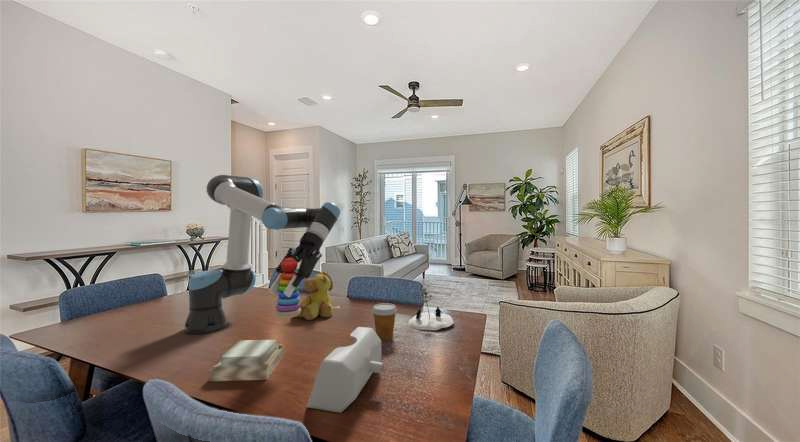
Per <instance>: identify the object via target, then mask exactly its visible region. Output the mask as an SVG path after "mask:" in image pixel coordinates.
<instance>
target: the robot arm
mask: <svg viewBox="0 0 800 442" xmlns="http://www.w3.org/2000/svg"><path fill="white" fill-rule="evenodd" d="M263 191H264V190H263V186H262V185H261V184H260V182H259V181H258V180H257V179H255V178H252V177H248V176H237V175H229V174H219V175H216V176H214V177H212V178H211V179H210V180H209V181H208V183H207V185H206V194H207V196H208V197H209V198H210V199H211V200H212V201H214V202H216V203H218V204H219V205H222V206H227V208H228V209H229V210H230V213H229V229H228V241H227V253H226V254H227V255H226V262H225V263H224V264H223V265H222V268H221V270H220V269H209V270H202V271H199V272H196V273H194V274H192V275H191V276H190V277H189V279H188V301H189V302H188V305H189V306H188V307H189V312H188V315H187V318H186V321H185V324H184V332H185V334H188V335H201V334H208V333H212V332H216V331H218V330H219V331H220V330H221V329H223V328H225V327H227V325H228V318H227V316H226V314H225V311H224V309H223V299H227V298H232V297H234V296H235V297H236V296H239V295H240V296H241V295H243V294H246V293H248V292H250V291H251V290H252V289H253V288H254V287H255V285H256V281H257V277H256V276H257V275H256V274H255V271H254V269H253V268H252V266H251V264H250V263H249V253H250V252H249V251H250V241H251V240H250V239H251V228H252V227H251V225H252V217H253V218H255V219H256V220H259V221H261V222H262V225H264V227H265V228H266V229H269V230H277V231H278V230H285V229H286V230H287V229H288V230H289V229H303V228H306V230H305V232H304V233H303V235H302V236H301V238H300V239H299V244H298V245H297V246H296V248H292V247H290V248H288V250H287V253H286V254H285V256H284V257H283V258H282V260H281V262H280V263H279V264H278V266H277V267H276V269H275V271H276V272H277V275H276V277H275V279H274V280H273V282H272V285H271V286H270V288H268V291H269V292H270V293H271V294H272V295H274V296H276V295H277V293H278V292H279V291H280V290H279V287H280V285H281V284H280V280H281V279H282V278H281V274H282V273H283V272H284V271H283V270H282V268H281V263H282V261H283V260H284V259H286V258H294V259H295V260H296V261H297V264H298V263H299V266H298V267H299V268H298V270H297V272H296V275H297V276H296V275H294V276H293V278H292V279H291V281H290V283H289V284H288V286H287V287H286V289H285V291H284V292H283V293H284V294H285V295H286V296H287V297H290V296H291V295H292V293H293V291H294V290H295V288H296V287H298V286H299V285H300V283H301V281H302V280H304V279H305V280H306V279H308V278H310V276H311V274H312V273H313V271H314V269H315V267H316V265H317V263H318V261H319V260H320V259H321V258H322V256H323V255H322V253H321V251H320V250H321V247H322V246H323V244H324V242H325V241H326V240H327V238H328V236H329V234H330V232H331V231H332V229H333V227H334V226H335V224H336V223H337V221H338V219H339V217H340V215H341V209H340V207H339V206H338V205H337V204H336V203H333V202H329V201H327V202H324V203H323V205H321V207H320V208H319V207H316V208H315V207H314V208H308V207H307V208H305V207H302V208H301V207H298V208H297V207H293V208H291V207H282V206H279V205H277V204H275V203H273V202H271V201H268V200H267V199H264V198H263V197H264V192H263Z"/></svg>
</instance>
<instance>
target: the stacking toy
mask: <svg viewBox="0 0 800 442" xmlns="http://www.w3.org/2000/svg"><path fill="white" fill-rule="evenodd" d="M282 260H283V259H282ZM282 260H281V261H282ZM280 263H281V262H280ZM281 268H282V270H283V271H284V272H283V273H282V274H281V278H282V279H281V280H280V284H281V285H280V287H279V290H278V292H277V293H278V294H277V295H278V298H277V301H276V302H277V303H276V304H275V309H276V310H275V313H274V314H275V316H276V317H278V318H282V319H288V318H290V319H291V318H294V317H296V316H297V315H299V314H300V313H301V308H300V302H301V298H300V296H299V295H300V291H299V285H298V287H296V288H295V290H294V291H293V293H292V295H291V296H290V297H287V296H286V295H285V294H284V293H283V292H284V291H285V289H286V287H287V286H288V284H289V283H290V281H291V279H292V278H293V276H294V275H296V273H297V272H296V270H297V269H298V263H297V261H296V260H295V259H294V258H286V259H284V260H283V261H282V263H281ZM296 276H297V275H296Z"/></svg>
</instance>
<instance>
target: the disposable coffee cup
mask: <svg viewBox="0 0 800 442" xmlns="http://www.w3.org/2000/svg"><path fill="white" fill-rule="evenodd" d="M397 310H398V309H397V308H396V305H395V304H393V303H389V302H388V303H387V302H383V303H376V304H375V305H373V307H372V310H371V311H372V313H373V320H374V330H375V332H376V334H377V335H378V337H379V338H380V340H381V341H389V340H392V339H393V337H394V336H393V335H394V330H395V329H394V328H395V320H396V312H397Z"/></svg>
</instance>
